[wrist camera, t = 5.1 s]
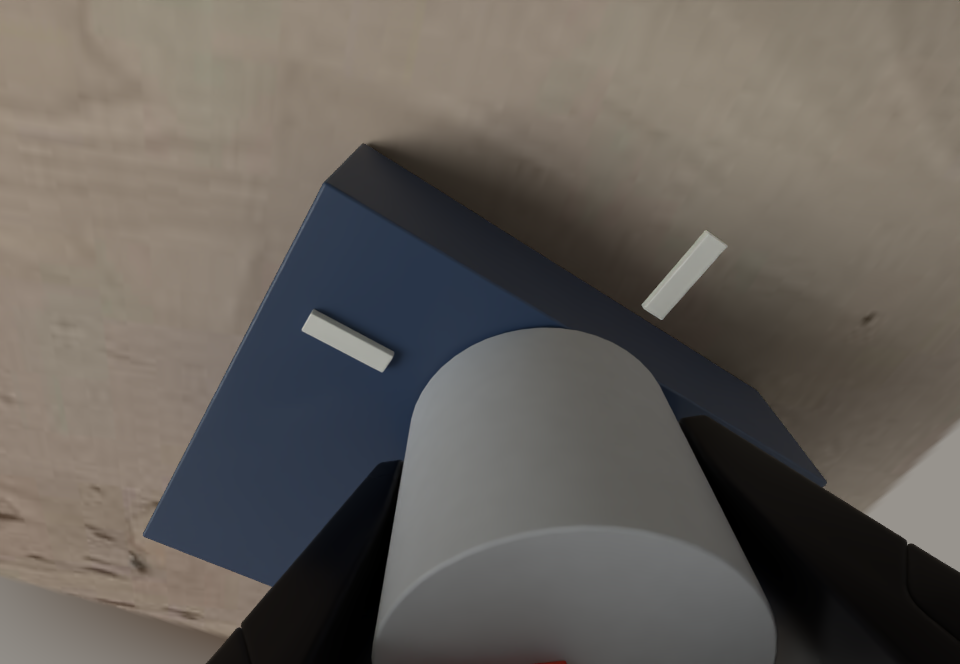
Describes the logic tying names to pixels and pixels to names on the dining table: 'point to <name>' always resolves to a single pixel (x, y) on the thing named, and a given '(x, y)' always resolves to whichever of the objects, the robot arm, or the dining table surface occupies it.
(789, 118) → the dining table surface
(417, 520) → the grey rotary knob
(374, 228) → the rotary dial base
